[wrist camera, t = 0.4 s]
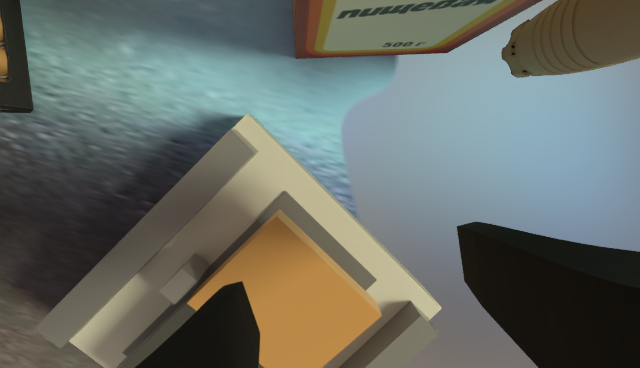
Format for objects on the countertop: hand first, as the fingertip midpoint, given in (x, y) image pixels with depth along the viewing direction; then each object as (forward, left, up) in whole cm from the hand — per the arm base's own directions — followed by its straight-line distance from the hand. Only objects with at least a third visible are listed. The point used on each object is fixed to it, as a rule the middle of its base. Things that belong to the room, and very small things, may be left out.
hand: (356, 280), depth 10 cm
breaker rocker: (-7, -1, -6) cm, 9 cm away
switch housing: (-7, -1, -11) cm, 13 cm away
